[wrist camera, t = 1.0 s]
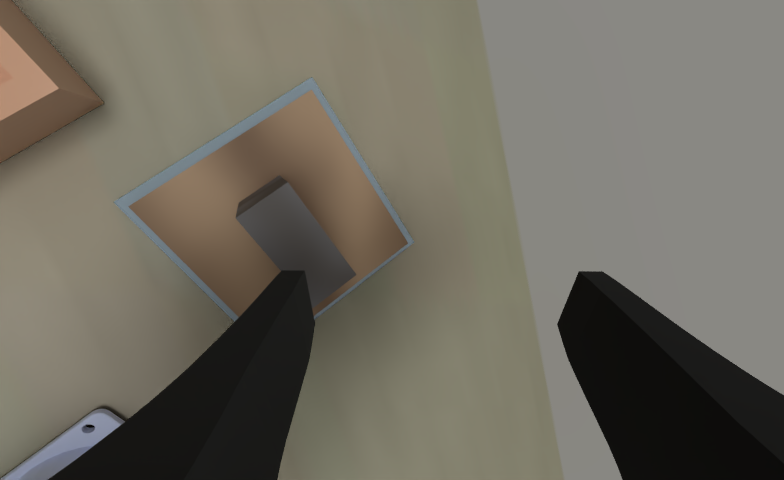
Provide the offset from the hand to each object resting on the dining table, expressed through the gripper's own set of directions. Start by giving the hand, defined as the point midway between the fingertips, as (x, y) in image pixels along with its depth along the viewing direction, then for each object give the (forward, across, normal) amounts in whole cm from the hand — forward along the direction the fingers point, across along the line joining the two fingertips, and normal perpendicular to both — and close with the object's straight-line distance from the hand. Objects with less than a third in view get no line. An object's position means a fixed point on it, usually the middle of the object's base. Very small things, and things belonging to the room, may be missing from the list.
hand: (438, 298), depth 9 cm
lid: (+9, +7, +4) cm, 12 cm away
